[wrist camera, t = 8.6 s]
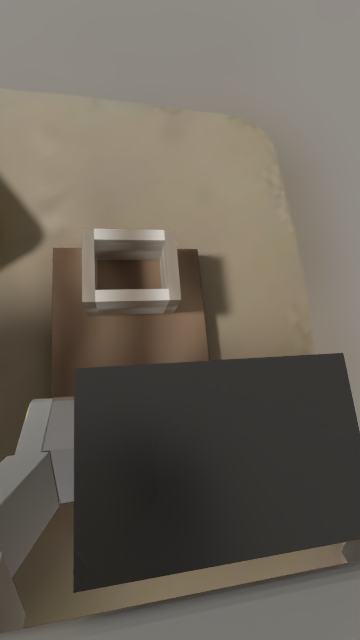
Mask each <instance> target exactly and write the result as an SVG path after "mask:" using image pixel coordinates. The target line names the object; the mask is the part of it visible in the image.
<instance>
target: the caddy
mask: <svg viewBox="0 0 360 640" xmlns="http://www.w3.org/2000/svg"><path fill="white" fill-rule="evenodd" d="M196 361H209V355H208V345H207V336H206V326H205V317H204V307H203V298H202V289H201V279H200V270H199V260H198V251H197V249H177V245H176V233H175V230H132V229H83V228H82V248H53V286H52V348H51V398H58V397H74V368H91V367H108V366H126V365H143V364H161V363H178V362H196Z"/></svg>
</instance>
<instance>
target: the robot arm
mask: <svg viewBox="0 0 360 640" xmlns="http://www.w3.org/2000/svg"><path fill="white" fill-rule="evenodd" d="M73 501H74V397H58V398H48V399H33V400H32V401H31V402H30V404H29V407H28V410H27V414H26V417H25V421H24V424H23V427H22V431H21V434H20V438H19V441H18V444H17V448H16V451H15V455H12V456H7V457H6V458H5V459H4V460H3V461H1V462H0V640H360V539H358V540H353V541H348V542H346V543H345V545H344V547H343V550H342V553H343V555H344V557H345V559H346V560H347V562H348V563H344V564H339V565H334V566H329V567H324V568H319V569H314V570H310V571H305V572H300V573H295V574H290V575H285V576H280V577H275V578H270V579H265V580H260V581H255V582H250V583H245V584H240V585H235V586H230V587H225V588H220V589H216V590H211V591H206V592H201V593H196V594H191V595H186V596H181V597H176V598H171V599H166V600H161V601H156V602H151V603H146V604H141V605H136V606H131V607H127V608H122V609H117V610H112V611H107V612H102V613H97V614H92V615H87V616H82V617H77V618H72V619H67V620H62V621H58V622H53V623H48V624H43V625H38V626H33V627H28V628H23V626H24V620H25V612H24V609H23V607H22V604H21V601H20V599H19V596H18V593H17V591H16V588H15V585H14V583H13V580H12V578H13V576H14V575H15V573H16V572H17V570H18V569H19V567H20V565H21V564H22V562H23V561H24V559H25V558H26V556H27V555H28V553H29V552H30V550H31V549H32V547H33V546H34V544H35V543H36V541H37V539H38V538H39V536H40V535H41V533H42V532H43V530H44V529H45V527H46V526H47V524H48V523H49V521H50V520H51V518H52V517H53V515H54V513H55V512H56V510H57V509H58V507H59V504H61V503H67V502H73Z"/></svg>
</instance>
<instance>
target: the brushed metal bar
mask: <svg viewBox="0 0 360 640" xmlns="http://www.w3.org/2000/svg"><path fill="white" fill-rule="evenodd" d="M358 539H360V432H359V427H358V422H357V417H356V413H355V408H354V403H353V398H352V393H351V389H350V384H349V379H348V374H347V369H346V365H345V360H344V355H343V353H337V354H318V355H301V356H283V357H266V358H248V359H231V360H213V361H196V362H178V363H161V364H143V365H126V366H108V367H91V368H74V593H75V592H80V591H86V590H91V589H96V588H102V587H107V586H112V585H118V584H123V583H128V582H134V581H139V580H144V579H150V578H155V577H160V576H166V575H171V574H177V573H182V572H187V571H193V570H198V569H203V568H209V567H214V566H219V565H225V564H230V563H235V562H241V561H246V560H251V559H257V558H262V557H267V556H273V555H278V554H283V553H289V552H294V551H299V550H305V549H310V548H315V547H321V546H326V545H331V544H337V543H342V542H348V541H353V540H358Z"/></svg>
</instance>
